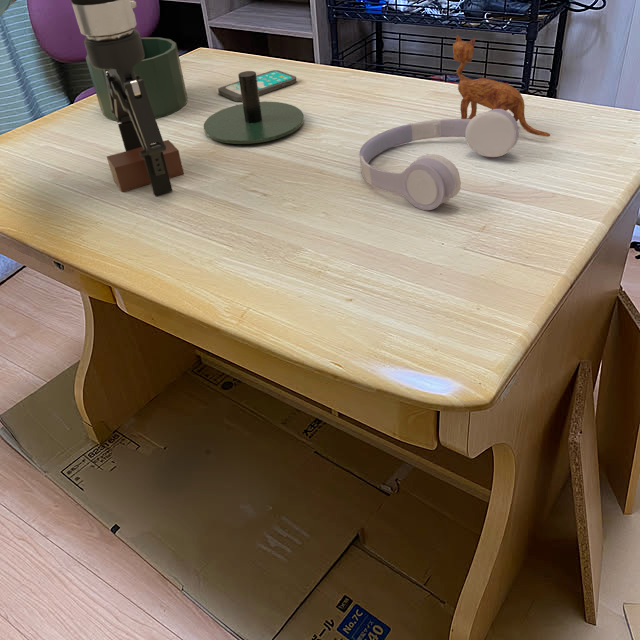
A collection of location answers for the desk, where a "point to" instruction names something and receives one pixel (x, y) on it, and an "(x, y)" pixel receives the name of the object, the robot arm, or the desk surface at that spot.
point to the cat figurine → (487, 90)
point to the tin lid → (253, 117)
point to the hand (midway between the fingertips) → (149, 176)
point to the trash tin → (150, 78)
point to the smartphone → (260, 84)
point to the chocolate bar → (141, 167)
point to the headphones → (434, 170)
